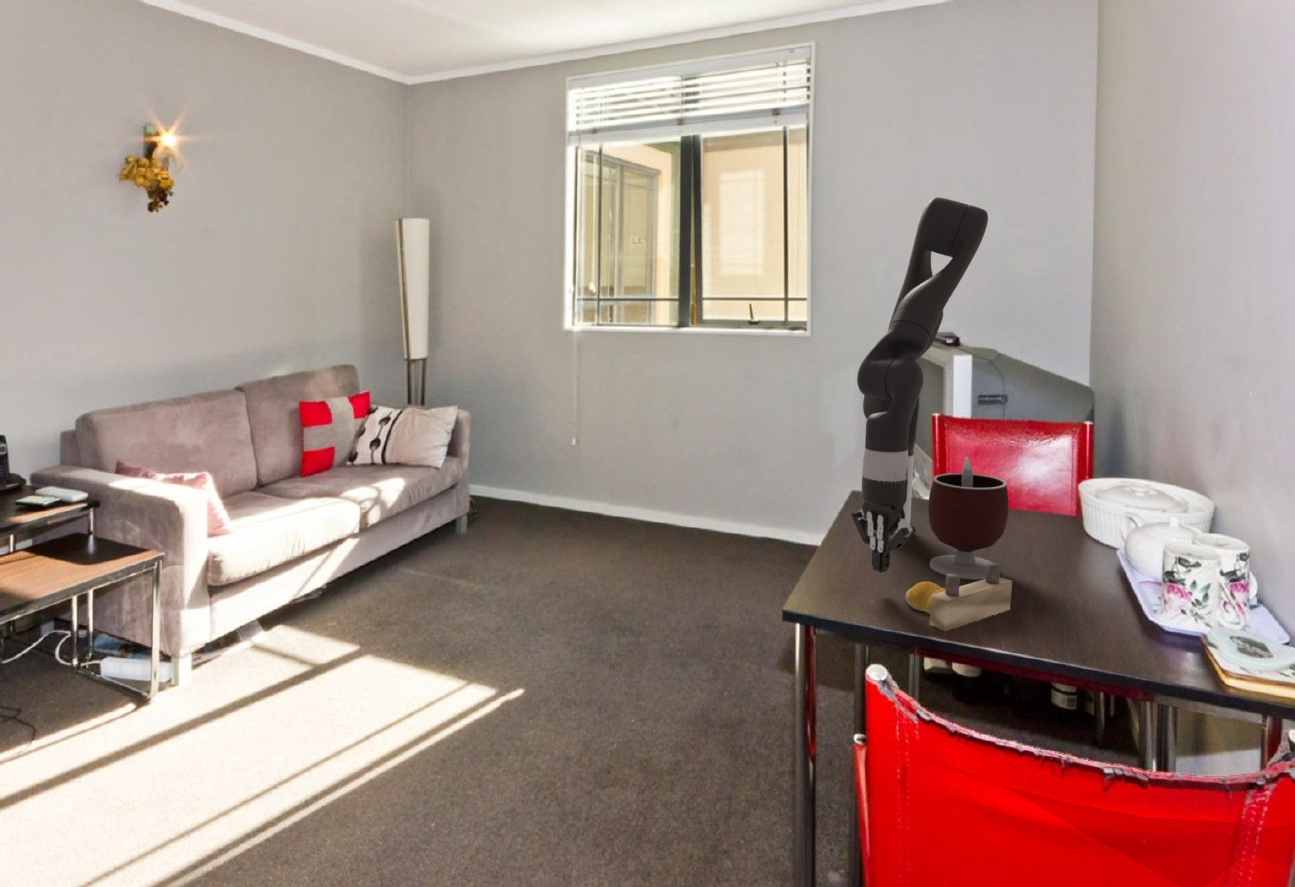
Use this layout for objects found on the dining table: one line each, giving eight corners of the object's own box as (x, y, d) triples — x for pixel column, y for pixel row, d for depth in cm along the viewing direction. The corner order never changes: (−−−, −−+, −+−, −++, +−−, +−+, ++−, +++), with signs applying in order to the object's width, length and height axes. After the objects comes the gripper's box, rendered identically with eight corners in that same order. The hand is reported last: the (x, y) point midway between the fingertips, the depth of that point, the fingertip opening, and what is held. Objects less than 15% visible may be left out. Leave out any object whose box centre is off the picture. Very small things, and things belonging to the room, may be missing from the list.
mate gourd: (1008, 584, 142) (1016, 475, 139) (926, 576, 146) (932, 470, 143) (998, 557, 157) (1005, 458, 153) (923, 551, 161) (929, 454, 157)
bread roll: (948, 622, 126) (949, 598, 125) (898, 606, 133) (899, 583, 132) (974, 609, 131) (975, 586, 131) (925, 594, 138) (926, 572, 137)
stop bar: (929, 625, 124) (932, 576, 123) (993, 604, 133) (996, 558, 131) (945, 631, 122) (948, 582, 121) (1010, 610, 130) (1013, 563, 129)
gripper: (931, 479, 132) (925, 578, 135) (871, 464, 143) (867, 556, 146) (899, 485, 128) (894, 586, 131) (841, 469, 139) (837, 563, 142)
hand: (880, 570), depth 139 cm, fingers closed
